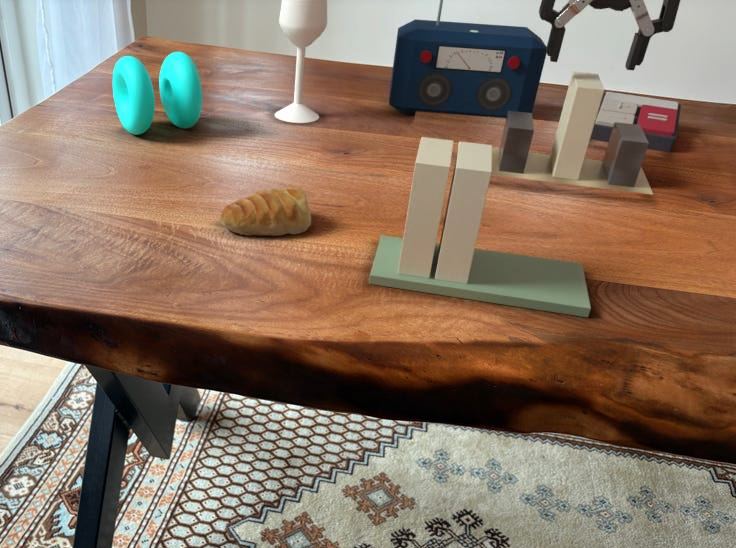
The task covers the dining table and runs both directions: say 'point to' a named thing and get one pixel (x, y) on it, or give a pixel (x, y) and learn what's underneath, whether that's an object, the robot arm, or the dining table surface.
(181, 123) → the donuts
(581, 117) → the cream book
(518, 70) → the radio
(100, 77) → the dining table surface
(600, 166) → the grey bookends
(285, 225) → the pastry
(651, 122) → the calculator
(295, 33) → the champagne flute
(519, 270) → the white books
